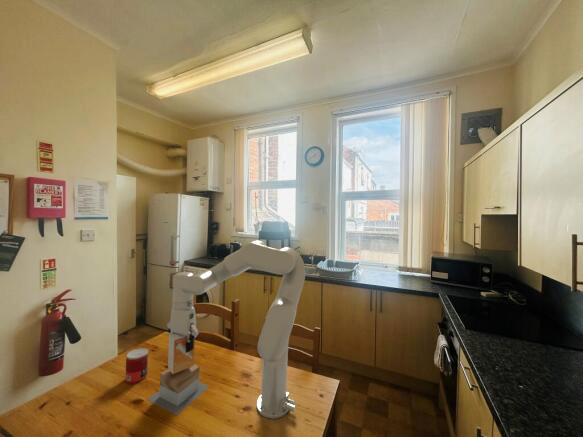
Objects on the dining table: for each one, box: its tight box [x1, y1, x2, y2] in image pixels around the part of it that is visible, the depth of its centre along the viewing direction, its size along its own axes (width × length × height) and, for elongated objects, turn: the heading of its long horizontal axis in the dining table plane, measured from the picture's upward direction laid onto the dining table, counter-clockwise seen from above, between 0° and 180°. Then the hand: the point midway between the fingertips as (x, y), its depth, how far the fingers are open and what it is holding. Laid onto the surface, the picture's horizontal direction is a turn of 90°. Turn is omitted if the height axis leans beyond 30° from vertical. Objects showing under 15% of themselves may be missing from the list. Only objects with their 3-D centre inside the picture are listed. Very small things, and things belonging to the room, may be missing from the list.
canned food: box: [124, 347, 149, 385], centre depth 101 cm, size 8×8×11 cm
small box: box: [167, 332, 196, 374], centre depth 93 cm, size 8×6×13 cm
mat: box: [146, 381, 210, 416], centre depth 93 cm, size 16×16×1 cm
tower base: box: [159, 377, 200, 406], centre depth 93 cm, size 10×10×4 cm
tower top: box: [159, 364, 200, 394], centre depth 93 cm, size 10×10×4 cm
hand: (181, 347), depth 93 cm, fingers closed on small box, 8 cm apart
